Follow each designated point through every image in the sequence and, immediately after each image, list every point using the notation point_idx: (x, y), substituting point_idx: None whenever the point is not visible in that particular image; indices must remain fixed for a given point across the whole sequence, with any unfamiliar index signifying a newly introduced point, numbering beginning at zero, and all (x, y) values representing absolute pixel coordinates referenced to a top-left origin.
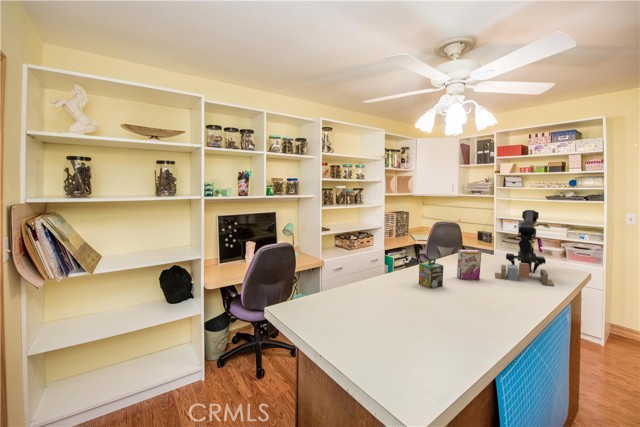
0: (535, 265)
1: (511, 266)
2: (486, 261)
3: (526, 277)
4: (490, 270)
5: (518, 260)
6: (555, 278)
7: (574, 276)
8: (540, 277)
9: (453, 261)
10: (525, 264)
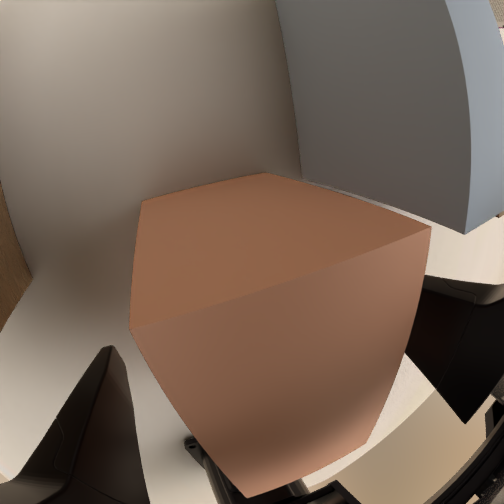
0: (61, 485)
1: (497, 62)
2: (408, 399)
3: (178, 192)
4: (449, 248)
5: (333, 483)
6: (3, 403)
7: (12, 467)
8: (7, 270)
9: (499, 277)
10: (292, 454)
